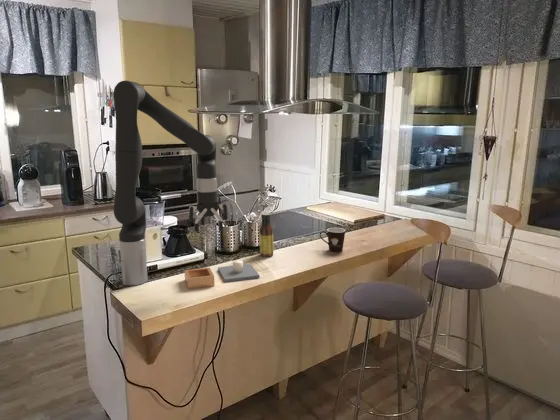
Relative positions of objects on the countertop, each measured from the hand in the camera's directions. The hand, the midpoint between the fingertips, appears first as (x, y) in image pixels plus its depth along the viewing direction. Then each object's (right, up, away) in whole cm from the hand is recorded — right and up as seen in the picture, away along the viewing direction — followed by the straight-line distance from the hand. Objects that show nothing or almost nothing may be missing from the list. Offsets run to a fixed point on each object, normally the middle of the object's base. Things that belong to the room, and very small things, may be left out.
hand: (208, 231), depth 166 cm
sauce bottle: (+21, -13, +36) cm, 43 cm away
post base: (+10, -18, +12) cm, 24 cm away
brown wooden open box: (-4, -20, +3) cm, 21 cm away
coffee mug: (+53, -11, +44) cm, 70 cm away
